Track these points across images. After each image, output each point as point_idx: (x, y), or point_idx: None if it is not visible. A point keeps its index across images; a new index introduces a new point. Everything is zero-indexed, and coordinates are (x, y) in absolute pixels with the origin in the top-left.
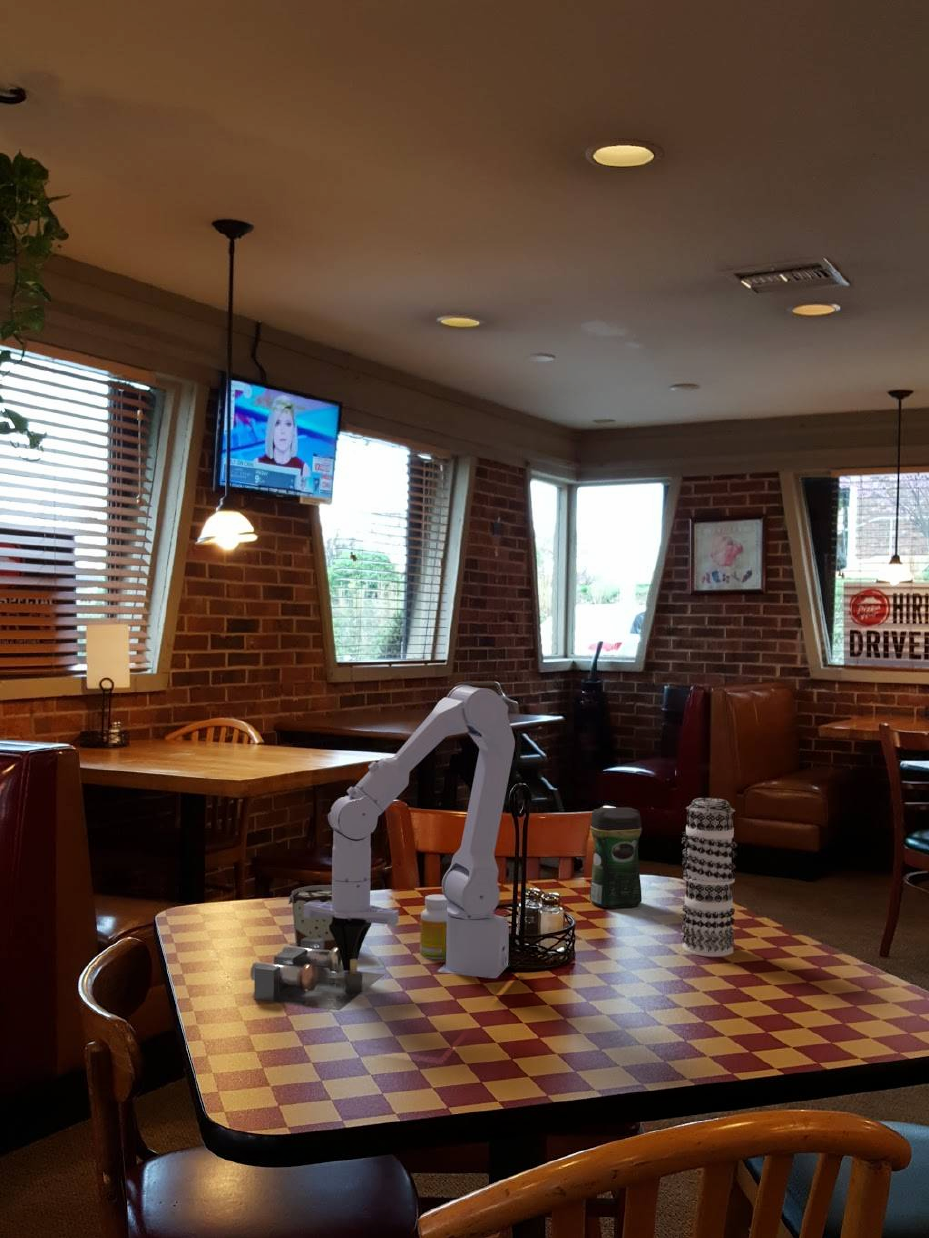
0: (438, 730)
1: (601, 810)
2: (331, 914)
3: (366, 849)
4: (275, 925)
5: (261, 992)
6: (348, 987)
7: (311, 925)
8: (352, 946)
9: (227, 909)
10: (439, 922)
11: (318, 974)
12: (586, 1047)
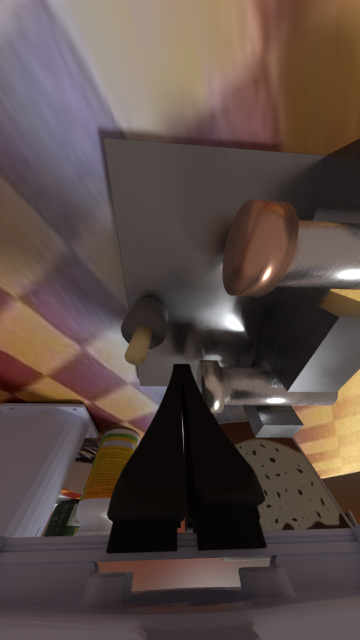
0: None
1: None
2: (289, 619)
3: None
4: (305, 454)
5: None
6: (150, 301)
7: (282, 463)
8: (163, 412)
9: (348, 466)
10: (87, 497)
11: (237, 362)
12: None
